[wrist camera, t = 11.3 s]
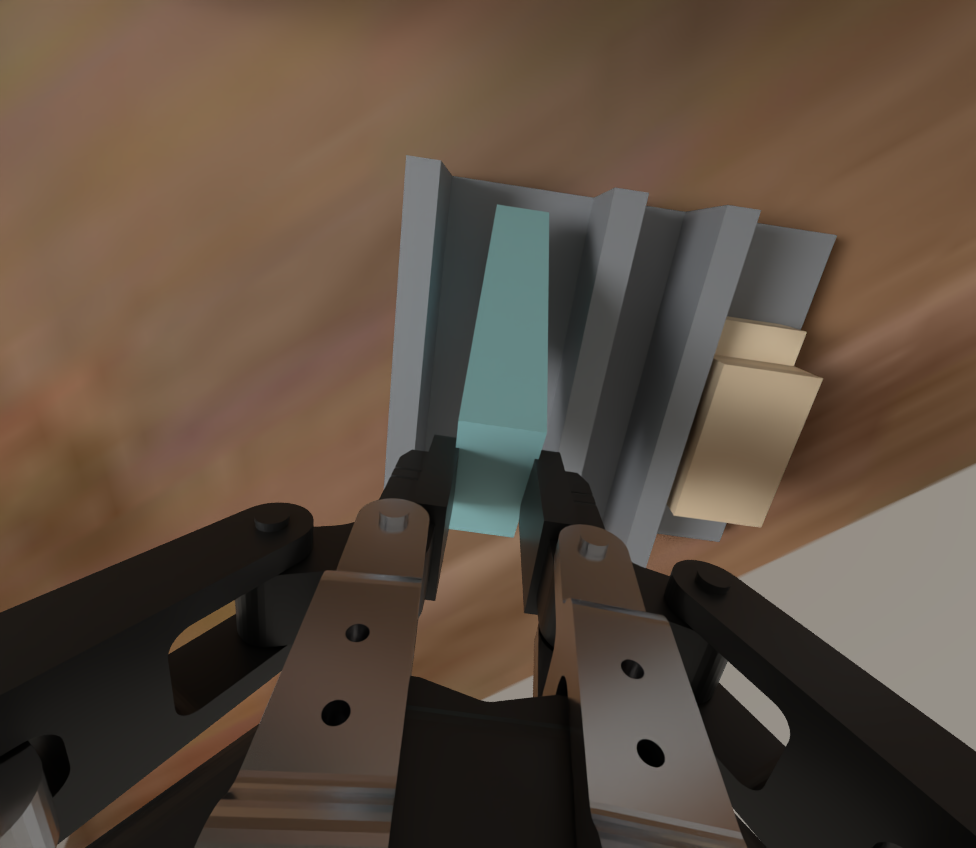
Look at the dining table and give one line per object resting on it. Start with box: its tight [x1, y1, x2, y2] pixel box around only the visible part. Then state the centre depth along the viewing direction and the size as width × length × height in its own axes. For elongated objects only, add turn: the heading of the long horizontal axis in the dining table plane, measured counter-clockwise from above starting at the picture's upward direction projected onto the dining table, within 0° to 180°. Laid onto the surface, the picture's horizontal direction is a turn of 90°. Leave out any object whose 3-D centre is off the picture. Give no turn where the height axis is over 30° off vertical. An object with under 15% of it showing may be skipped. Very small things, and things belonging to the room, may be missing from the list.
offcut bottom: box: [714, 316, 807, 366], centre depth 22 cm, size 8×4×2 cm, turn 172°
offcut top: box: [666, 355, 823, 527], centre depth 21 cm, size 7×4×2 cm, turn 172°
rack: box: [384, 155, 837, 568], centre depth 22 cm, size 16×18×6 cm
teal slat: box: [449, 205, 549, 537], centre depth 16 cm, size 5×2×11 cm, turn 173°
